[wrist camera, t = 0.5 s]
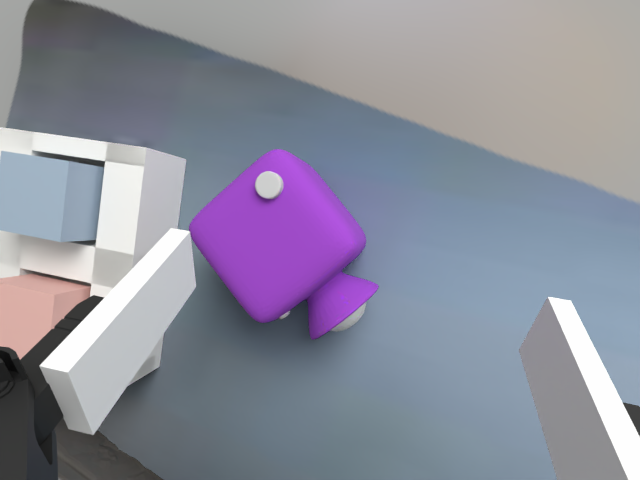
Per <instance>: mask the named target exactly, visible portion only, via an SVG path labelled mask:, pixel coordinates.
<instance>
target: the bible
mask: <svg viewBox="0 0 640 480" xmlns="http://www.w3.org/2000/svg"><path fill="white" fill-rule="evenodd" d="M54 429H55V432H56V437H57V461H58V480H163V479H162V478H160V477H159V476H157V475H156V474H155V473H153V472H152V471H151V470H149V469H147V468H145V467H144V466H143V465H142V464H141V463H140V462H139V461H138V460H136V459H135V458H133V457H130V456H128V455H127V454H126V453H124V452H122V451H121V450H118V448H117V447H116V445H115V444H113V443H111V442H110V441H108V439H107V438H106V437H105V436H104V435H103V434H101V433H100V432H99V431H96V432H95V433H94V435H91V434H87V433H83V432H79V431H74V430H70V429H68V427H67V425H66V422H65V420H64V418H62V419H61V421H60V422H59V423H58V424H57V426H56V427H55V428H54Z"/></svg>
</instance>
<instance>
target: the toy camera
mask: <svg viewBox="0 0 640 480" xmlns="http://www.w3.org/2000/svg"><path fill="white" fill-rule="evenodd" d="M189 231H190V235H191V237H192V240H193V241H194V243H195V244H196V246H197V247H198V249H199V250H200V251H201V253H202V254H203V256H204V257H205V258H206V260H207V261H208V262H209V264H210V265H211V266H212V268H213V269H214V270H215V272H216V273H217V274H218V276H219V277H220V278H221V279H222V281H223V282H224V283H225V285H226V286H227V287H228V289H229V290H230V291H231V293H232V294H233V295H234V297H235V298H236V299H237V300H238V302H239V303H240V304H241V306H242V307H243V308H244V309H245V310H246V312H247V313H248V314H249V315H250V316H251V317H252V318H253V319H254V320H256V321H258V322H261V323H266V322H271V321H273V320H276V319H278V318H279V319H284V318H286V317H287V316H288V315H289V314H290V310H291V309H292V308H294V307H295V306H296V305H298V304H299V303H300V302H302V301H303V300H307V302H308V318H309V332H310V337H311V339H312V340H313V339H317V338H319V337H321V336H322V335H324V334H326V333H327V332H329V331H342V330H345V329H348V328H350V327H351V326H353V325H354V324H355V323H356V322H357V321H358V320H359V319H360V318H361V317H362V315H363V313H364V311H365V307H366V301H367V300H368V299H369V298H370V297H371V296H372V295H373V294H374V293H375V292H376V291H377V289H378V287H379V286H378V285H377V284H375V283H373V282H371V281H368V280H365V279H361V278H357V277H354V276H350V275H347V274H344V273H343V272H342V270H343V269H344V268H345V267H346V266H347V265H348V264H349V263H350V262H352V261H353V260H354V259H355V258H356V257H357V256H358V255H359V254H360V253H361V252H362V250H363V249H364V247H365V244H366V237H365V234H364V232H363V230H362V229H361V227H360V226H359V224H358V223H357V222H356V220H355V219H354V218H353V217H352V215H351V214H350V213H349V212H348V210H347V209H346V208H345V207H344V205H343V204H342V203H341V202H340V200H339V199H338V198H337V197H336V195H335V194H334V193H333V192H332V190H331V189H330V188H329V187H328V186H327V184H326V183H325V182H324V181H323V179H322V178H321V177H320V176H319V175H318V173H317V172H316V171H315V170H314V169H313V168H312V167H311V166H309V165H308V164H307V163H305V162H304V161H302V160H301V159H299V158H298V157H296V156H294V155H293V154H291V153H289V152H287V151H285V150H281V149H275V150H271V151H269V152H268V153H266V154H264V155H263V156H262V157H260V158H259V159H258V160H257V161H255V162H254V163H253V164H252V165H251V166H250V167H249V168H247V169H246V170H245V171H244V172H243V173H242V174H241V175H240V176H238V177H237V178H236V179H235V180H234V181H233V182H232V183H231V184H230V185H228V186H227V187H226V188H225V189H224V190H223V191H222V192H221V193H219V194H218V195H217V196H216V197H215V198H214V199H213V200H212V201H211V202H209V203H208V204H207V205H206V206H205V207H204V208H203V209H202V210H201V211H200V212H199V213H198V214H197V215H196V216H195V217H194V219H193V220H192V222H191V223H190V226H189Z"/></svg>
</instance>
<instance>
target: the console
mask: <svg viewBox="0 0 640 480" xmlns="http://www.w3.org/2000/svg"><path fill="white" fill-rule="evenodd" d="M1 151H7V152H13V153H20V154H26V155H33V156H39V157H46V158H52V159H59V160H66V161H72V162H77V163H83V164H88V165H94V166H99V167H104V176H103V185H102V194H101V203H100V211H99V220H98V229H97V238H96V240H86V241H70V242H57V241H52V240H47V239H42V238H37V237H32V236H27V235H22V234H17V233H11V232H6V231H1V230H0V278H6V277H13V276H20V275H27V274H35V275H40V276H44V277H49V278H54V279H58V280H63V281H67V282H72V283H77V284H81V285H86V286H91V291H90V297H91V296H93V295H95V296H100V297H106V296H107V295H108V294H109V293H110V292H111V291H112V289H113V288H114V287H115V286H116V285H117V284H118V283H119V282H120V281H121V280H122V279H123V278H124V277H125V276H126V275H127V274H128V273H129V272H130V271H131V270H132V269H133V268H134V266H135V265H136V264H137V263H138V262H139V261H140V260H141V259H142V258H143V257H144V256H145V255H146V254H147V253H148V252H149V251H150V250H151V249H152V248H153V247H154V246H155V245H156V243H157V242H158V241H159V240H160V239H161V238H162V237H163V236H164V235H165V234H166V233H167V232H168V231H169V230H170V229H171V228H173V229H178V221H179V213H180V205H181V198H182V190H183V182H184V174H185V166H186V159H183V158H180V157H177V156H173V155H170V154H166V153H163V152H159V151H156V150H153V149H149V148H145V147H138V146H131V145H123V144H116V143H109V142H102V141H95V140H88V139H80V138H73V137H66V136H59V135H52V134H45V133H37V132H30V131H23V130H16V129H9V128H1V127H0V156H1ZM163 337H164V334H163V335H162V337H161V338H160V340H159V341H158V343H157V344H156V345H155V347H154V348H153V350H152V351H151V353H150V354H149V356H148V357H147V358H146V360H145V361H144V363H143V364H142V366H141V367H140V369H139V370H138V371H137V373H136V374H135V376H134V377H133V379H132V380H131V381H130V383H129V384H128V386H129V385H130V384H132V383H134V382H135V381H137V380H139V379H140V378H142V377H143V376H145V375H147V374H148V373H150V372H152V371H153V370H155V369H157V368H158V367H160V361H161V353H162V345H163Z"/></svg>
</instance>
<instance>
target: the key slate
mask: <svg viewBox="0 0 640 480" xmlns="http://www.w3.org/2000/svg"><path fill="white" fill-rule="evenodd" d="M103 176H104V167H99V166H94V165H88V164H83V163H77V162H72V161H66V160H59V159H52V158H46V157H39V156H33V155H26V154H20V153H13V152H7V151H1V156H0V230H1V231H6V232H11V233H17V234H22V235H27V236H32V237H37V238H42V239H47V240H52V241H57V242H70V241H86V240H96V238H97V229H98V220H99V211H100V203H101V194H102V185H103Z"/></svg>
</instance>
